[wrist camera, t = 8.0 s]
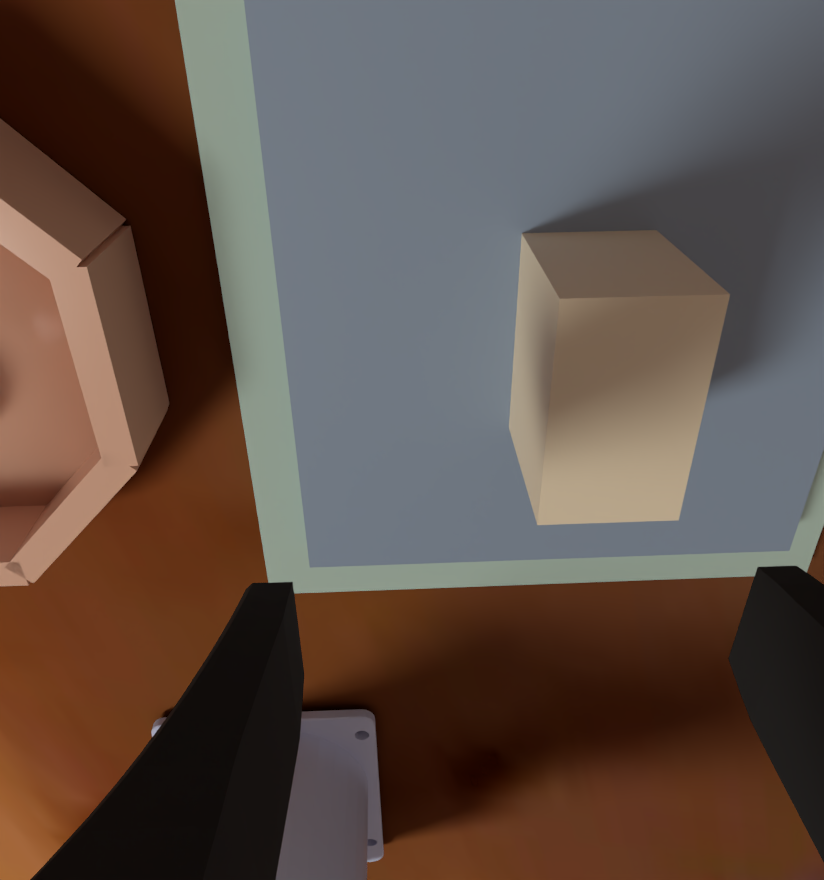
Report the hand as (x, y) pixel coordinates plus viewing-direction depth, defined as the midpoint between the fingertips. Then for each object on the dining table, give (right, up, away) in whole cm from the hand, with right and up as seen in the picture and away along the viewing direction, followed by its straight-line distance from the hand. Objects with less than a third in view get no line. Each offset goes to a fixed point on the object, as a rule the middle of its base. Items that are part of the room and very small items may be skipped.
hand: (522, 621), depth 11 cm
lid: (+2, +6, +7) cm, 9 cm away
